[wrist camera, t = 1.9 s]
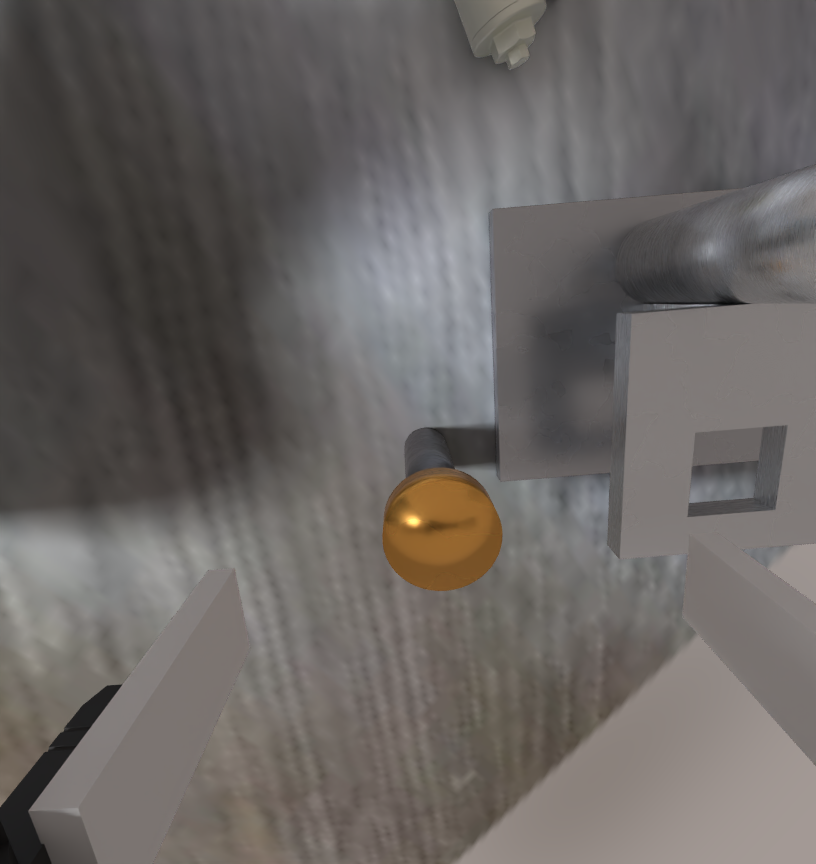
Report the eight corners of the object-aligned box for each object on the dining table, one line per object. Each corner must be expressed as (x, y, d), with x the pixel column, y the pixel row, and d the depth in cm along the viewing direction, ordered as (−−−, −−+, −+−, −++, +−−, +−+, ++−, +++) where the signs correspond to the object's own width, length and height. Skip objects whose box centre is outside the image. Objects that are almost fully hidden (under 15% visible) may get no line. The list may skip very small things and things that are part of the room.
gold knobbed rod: (392, 485, 27) (388, 595, 17) (385, 415, 26) (376, 487, 16) (464, 479, 27) (503, 586, 17) (460, 409, 26) (500, 477, 16)
